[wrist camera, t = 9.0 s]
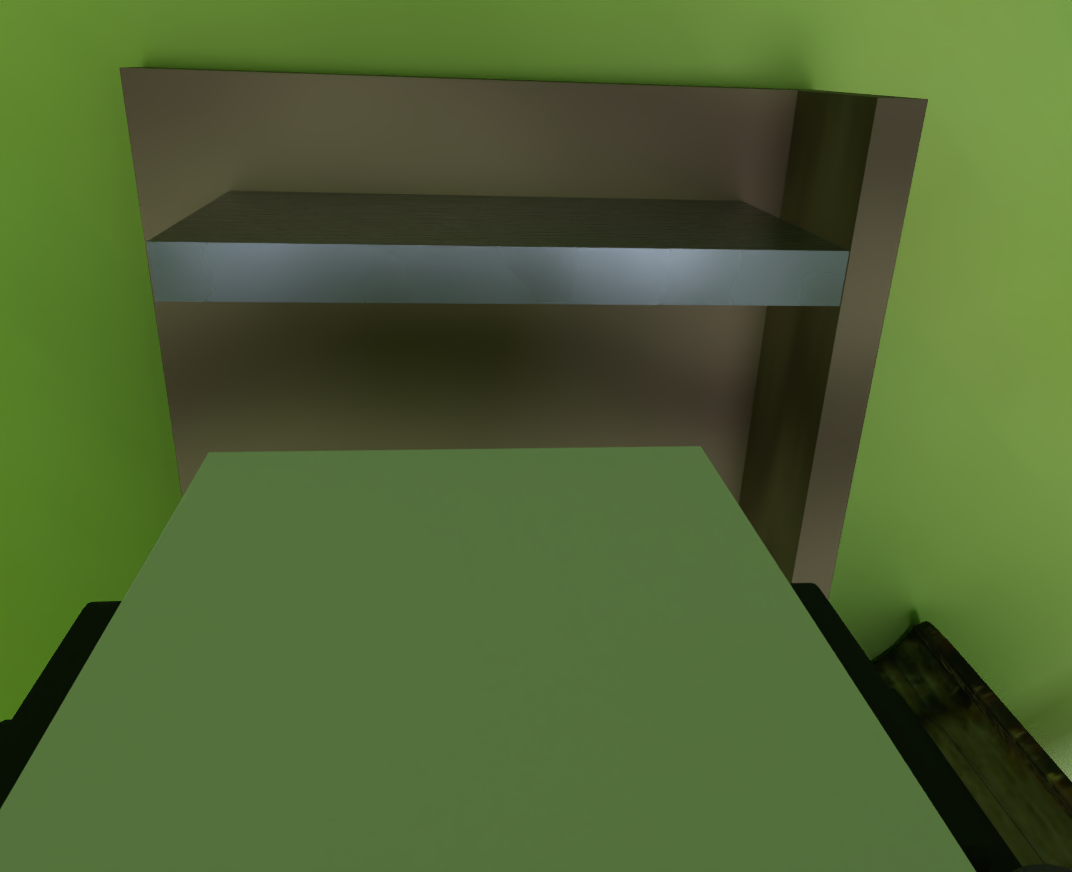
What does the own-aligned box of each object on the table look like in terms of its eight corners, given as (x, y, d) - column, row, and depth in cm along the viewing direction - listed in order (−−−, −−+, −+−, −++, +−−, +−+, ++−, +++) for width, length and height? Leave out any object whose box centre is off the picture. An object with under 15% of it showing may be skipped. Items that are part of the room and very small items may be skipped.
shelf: (741, 571, 27) (844, 746, 20) (212, 586, 25) (127, 781, 18) (813, 89, 21) (989, 104, 15) (141, 66, 20) (-18, 71, 13)
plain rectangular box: (674, 665, 14) (1076, 1737, 5) (239, 682, 14) (-170, 1955, 5) (700, 446, 13) (1349, 1449, 4) (208, 452, 12) (-536, 1722, 3)
